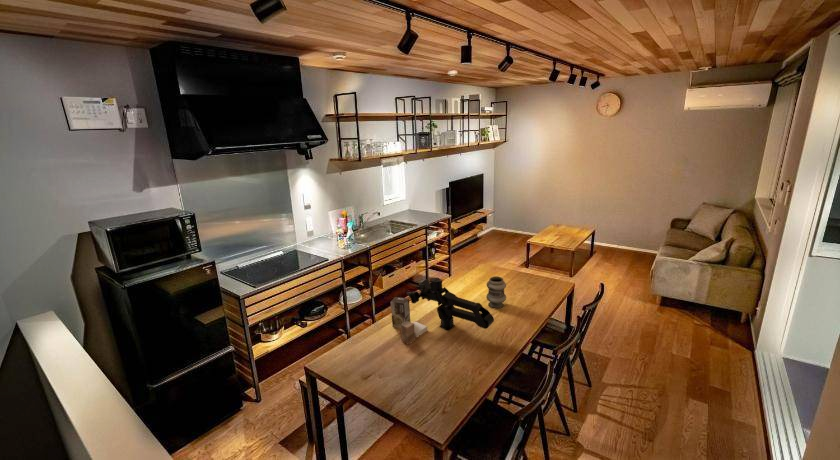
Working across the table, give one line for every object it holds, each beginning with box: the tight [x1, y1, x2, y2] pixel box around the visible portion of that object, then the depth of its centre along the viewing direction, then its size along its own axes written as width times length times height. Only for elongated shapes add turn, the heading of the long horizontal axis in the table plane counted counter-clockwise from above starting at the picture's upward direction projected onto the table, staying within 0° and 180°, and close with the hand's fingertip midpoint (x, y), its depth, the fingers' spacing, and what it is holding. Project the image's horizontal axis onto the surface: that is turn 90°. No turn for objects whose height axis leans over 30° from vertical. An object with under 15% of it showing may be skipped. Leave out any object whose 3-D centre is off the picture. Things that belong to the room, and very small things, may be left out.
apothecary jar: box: [486, 275, 507, 310], centre depth 237 cm, size 12×12×18 cm
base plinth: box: [412, 321, 428, 338], centre depth 215 cm, size 9×9×2 cm
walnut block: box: [400, 321, 416, 345], centre depth 205 cm, size 5×5×10 cm
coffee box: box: [390, 296, 411, 329], centre depth 220 cm, size 9×6×16 cm
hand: (411, 290), depth 229 cm, fingers open, 9 cm apart
